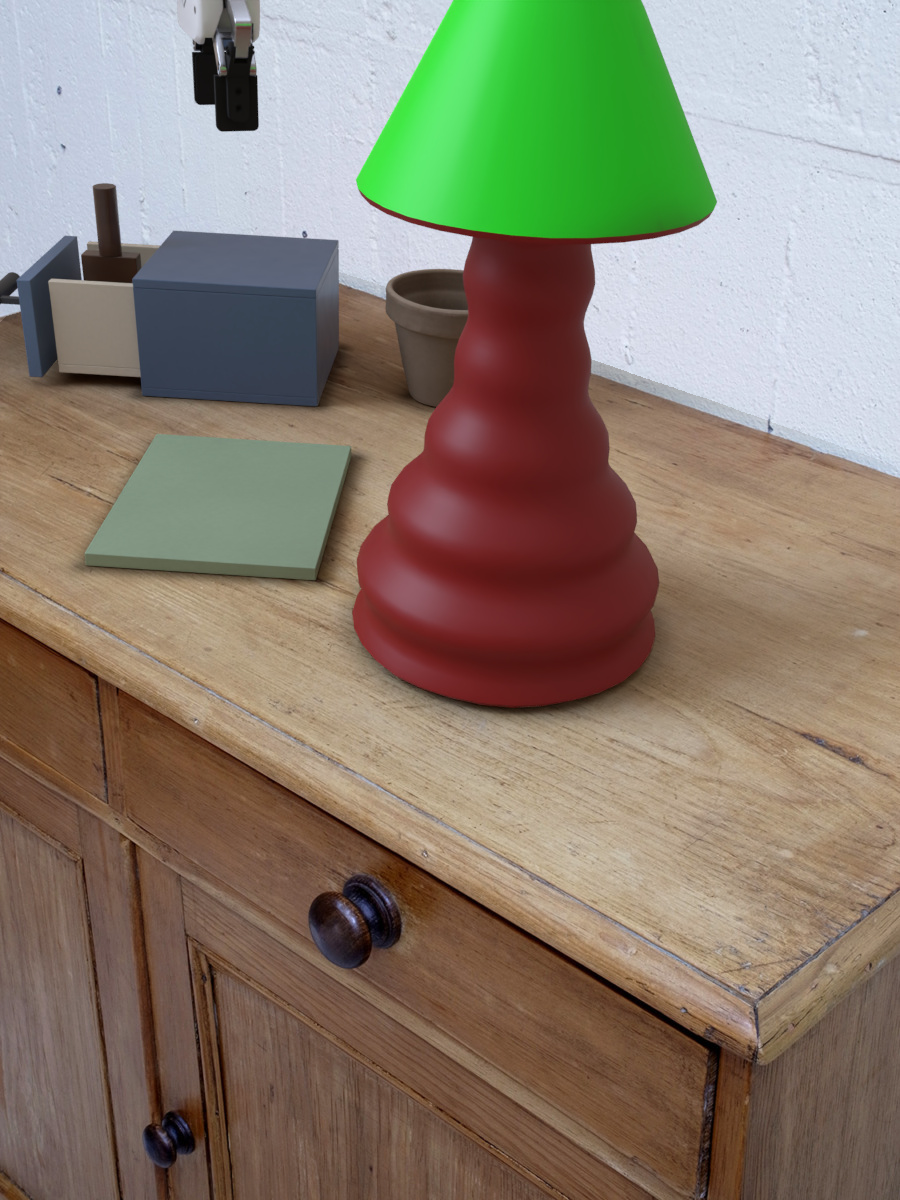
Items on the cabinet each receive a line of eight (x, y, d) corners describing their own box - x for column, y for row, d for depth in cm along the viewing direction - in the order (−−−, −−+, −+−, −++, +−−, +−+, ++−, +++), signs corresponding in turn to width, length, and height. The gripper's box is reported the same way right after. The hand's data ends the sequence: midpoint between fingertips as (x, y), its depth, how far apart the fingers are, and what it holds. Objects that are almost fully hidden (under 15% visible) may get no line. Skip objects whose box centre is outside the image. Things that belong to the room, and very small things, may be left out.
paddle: (89, 340, 121) (72, 187, 114) (95, 333, 123) (79, 181, 116) (142, 344, 121) (129, 190, 114) (148, 336, 123) (135, 184, 116)
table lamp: (421, 528, 97) (446, -176, 74) (684, 587, 92) (800, -157, 68) (299, 665, 81) (281, -177, 58) (607, 747, 76) (725, -151, 52)
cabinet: (142, 396, 116) (131, 278, 111) (180, 338, 129) (173, 230, 123) (317, 406, 116) (316, 289, 110) (339, 347, 128) (338, 239, 123)
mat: (85, 565, 91) (84, 553, 90) (157, 444, 108) (156, 433, 107) (315, 580, 90) (315, 568, 90) (351, 456, 107) (351, 445, 107)
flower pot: (536, 398, 119) (545, 290, 114) (450, 432, 112) (455, 319, 107) (444, 362, 126) (448, 259, 121) (357, 392, 119) (358, 283, 113)
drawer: (-24, 373, 117) (-39, 276, 112) (26, 322, 128) (14, 232, 123) (191, 386, 116) (184, 289, 111) (222, 334, 127) (217, 244, 123)
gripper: (147, -138, 101) (161, 95, 110) (183, -123, 88) (196, 143, 97) (243, -134, 104) (250, 94, 113) (293, -119, 90) (296, 140, 99)
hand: (225, 116), depth 105 cm, fingers open, 9 cm apart
